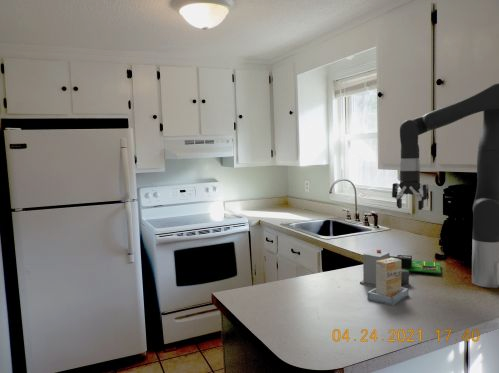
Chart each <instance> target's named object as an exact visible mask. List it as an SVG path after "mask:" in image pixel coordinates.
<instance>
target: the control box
mask: <svg viewBox="0 0 499 373" xmlns="http://www.w3.org/2000/svg"><path fill="white" fill-rule="evenodd" d="M381 250H382V249H373V250H370V251H367V252H366V253H365V252H364V253H363V254H362V255H363V256H362V258H363V259H362V262H363V263H362V264H363V268H362V269H363V270H362V272H363V276H362V277H363V280H360V281H359V284H360V285H362V286H363V285H364V286H369V287H372V288H376V261H378V260H383V259H387V258H390V256H391V255H390V252H387V251H381Z"/></svg>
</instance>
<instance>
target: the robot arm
mask: <svg viewBox="0 0 499 373" xmlns="http://www.w3.org/2000/svg"><path fill="white" fill-rule="evenodd" d="M480 112H483V115H482V116H483V117H482V119H483V120H482V128H481V131H480V136H479V140H478V141H479V142H478V147H477V156H476V175H477V176H476V178H477V179H476V180H477V183H476V191H475V197H474V200H473V204H472V214H473V215H472V217H473V218H472V237H471V238H472V243H471V244H472V245H471V246H472V250H471V252H472V253H471V254H472V255H471V283H472V284H473V285H475V286H477V287H483V288H493V289H498V288H499V83H494V84H491V85H489V86H488V87H487V88H485V89H484V90H482V91H480V92H478V93H476V94H474V95H472V96H469V97H468V98H465V99H462V100H460V101H457V102H455V103H451V104H449V105H446V106H443V107H441V108H438V109H435V110H432V111H429V112H427V113H426V114H424V115H422V116H419V117H416V118H413V119H406V120H404V121H403V122H402V123H401V125H400V127H399V138H400V139H399V140H400V164H399V181H400V183H398V182H395V183H392V187H391V188H392V190H391V197H392V198H394V199H396V208H397V209H402V207H403V205H402V204H403V203H402V202H403V200H402V198H403V197H404V196H405V195H414V196H415V197H416V198H417V199H418V201H417V202H418V205H417V206H418V207H417V208H418V210H419V211H421V210H423V209H424V204H425V203H424V201H425V200H428V199H429V198H430V195H429V184H427V183H425V184H421V183H420V182H421V162H420V145H419V136H420V135H423V134H425V133H427V132H430V131H433V130H437V129H440V128H442V127H445V126H448V125H451V124H453V123H455V122H457V121H460V120H462V119H464V118H466V117H469V116H473V115H474V114H477V113H480ZM399 188H400V190H398V189H399ZM420 189H421V190H422V192H421V191H420ZM398 191H399V192H398Z"/></svg>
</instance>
